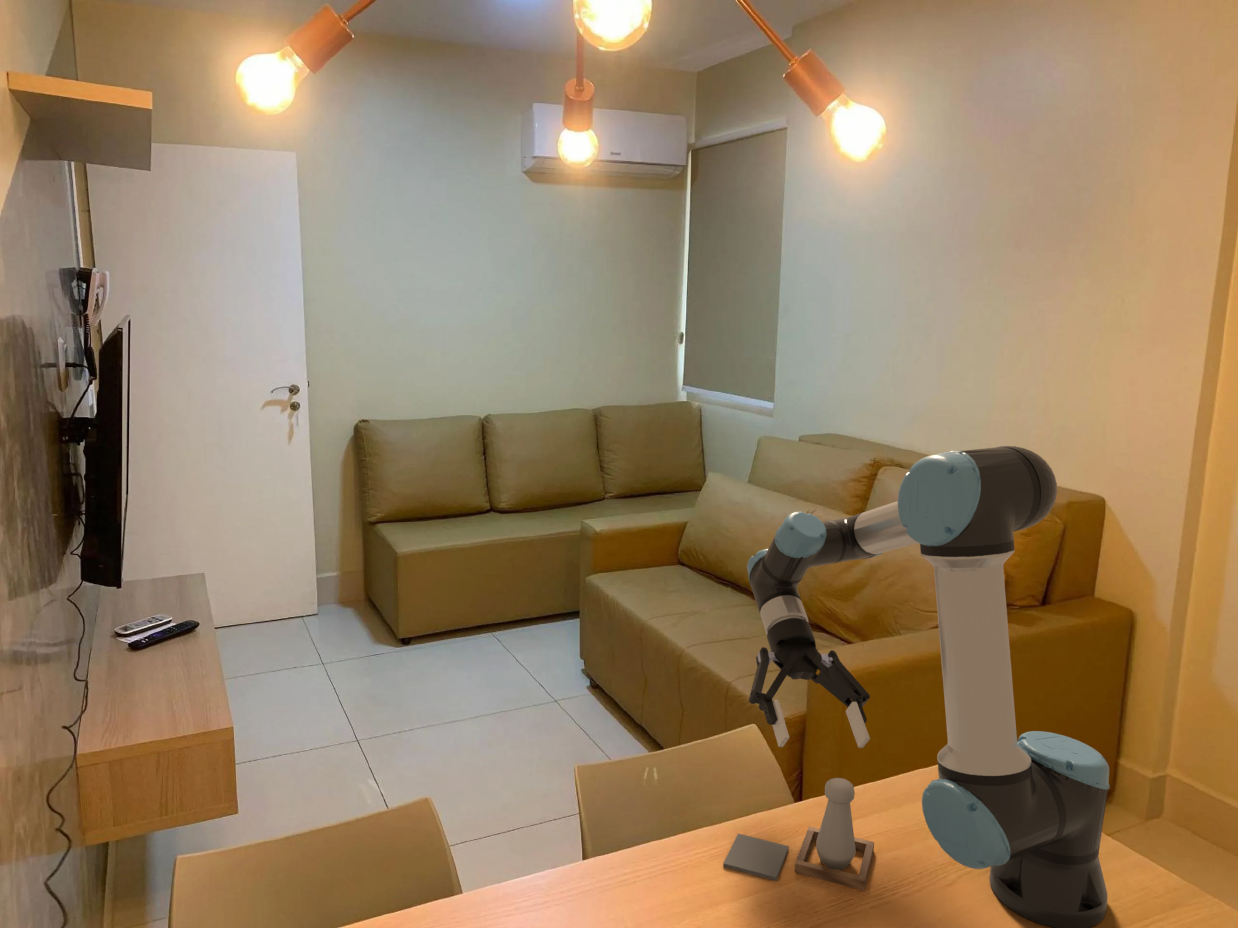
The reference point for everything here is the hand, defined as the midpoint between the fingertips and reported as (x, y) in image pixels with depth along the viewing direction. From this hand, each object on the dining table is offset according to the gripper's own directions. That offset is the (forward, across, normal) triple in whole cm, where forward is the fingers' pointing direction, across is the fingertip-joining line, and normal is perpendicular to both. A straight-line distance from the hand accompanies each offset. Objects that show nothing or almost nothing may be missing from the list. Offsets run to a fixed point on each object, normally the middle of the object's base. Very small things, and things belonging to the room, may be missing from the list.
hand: (824, 742), depth 138 cm
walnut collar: (+13, -2, -11) cm, 17 cm away
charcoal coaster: (+11, +9, -14) cm, 20 cm away
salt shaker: (+14, -2, -11) cm, 17 cm away
